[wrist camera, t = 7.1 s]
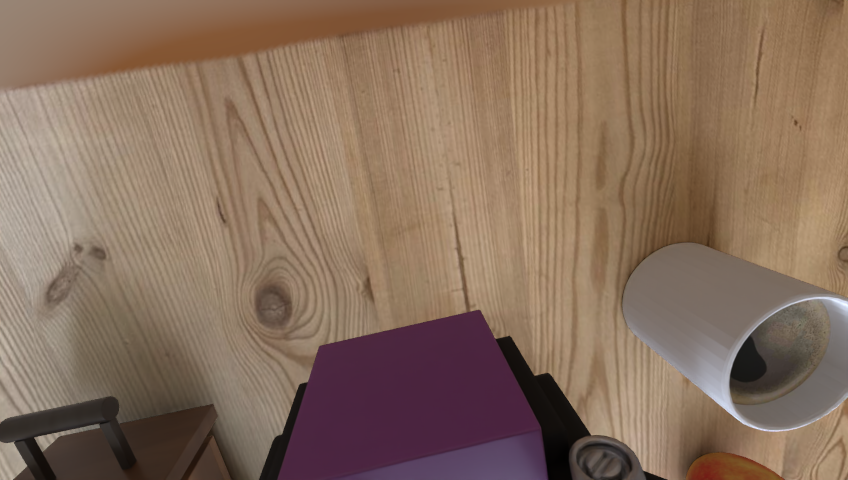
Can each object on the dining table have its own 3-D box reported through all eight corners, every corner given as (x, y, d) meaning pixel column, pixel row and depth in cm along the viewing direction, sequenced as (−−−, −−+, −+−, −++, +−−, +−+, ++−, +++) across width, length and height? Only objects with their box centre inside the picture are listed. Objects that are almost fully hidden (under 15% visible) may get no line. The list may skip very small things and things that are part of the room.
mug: (610, 265, 30) (714, 328, 21) (727, 222, 30) (885, 264, 21) (637, 378, 33) (738, 478, 24) (743, 338, 33) (887, 423, 24)
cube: (359, 473, 13) (342, 668, 8) (318, 345, 11) (272, 490, 7) (503, 439, 13) (567, 611, 8) (480, 308, 12) (542, 426, 7)
